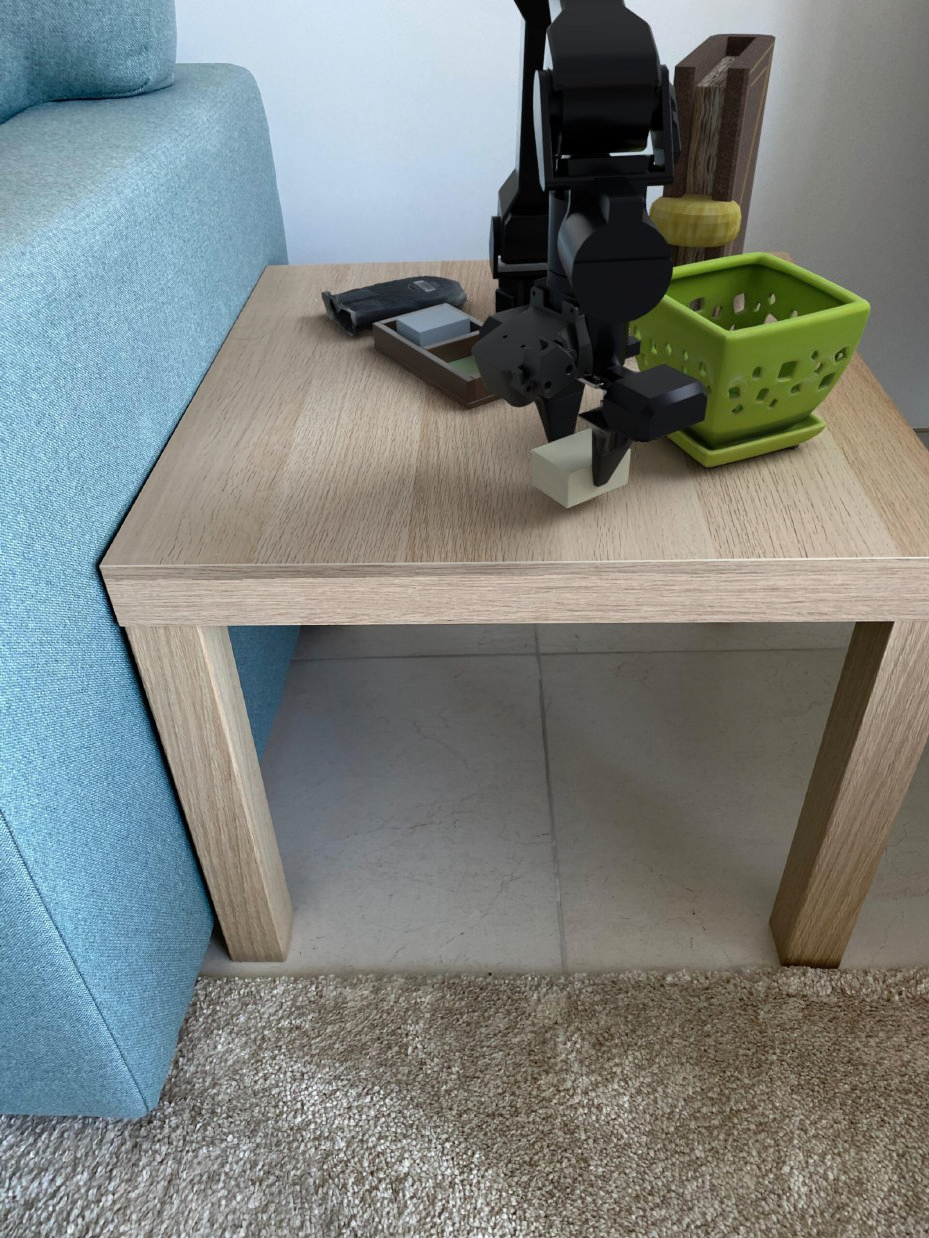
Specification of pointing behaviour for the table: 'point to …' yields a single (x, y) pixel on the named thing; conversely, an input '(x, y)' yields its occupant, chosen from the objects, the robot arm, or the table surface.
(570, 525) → the table surface
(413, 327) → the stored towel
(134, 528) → the table surface
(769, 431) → the flower pot
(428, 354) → the shallow rectangular tray
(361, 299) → the electronic device
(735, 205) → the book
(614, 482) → the cream rectangular block
